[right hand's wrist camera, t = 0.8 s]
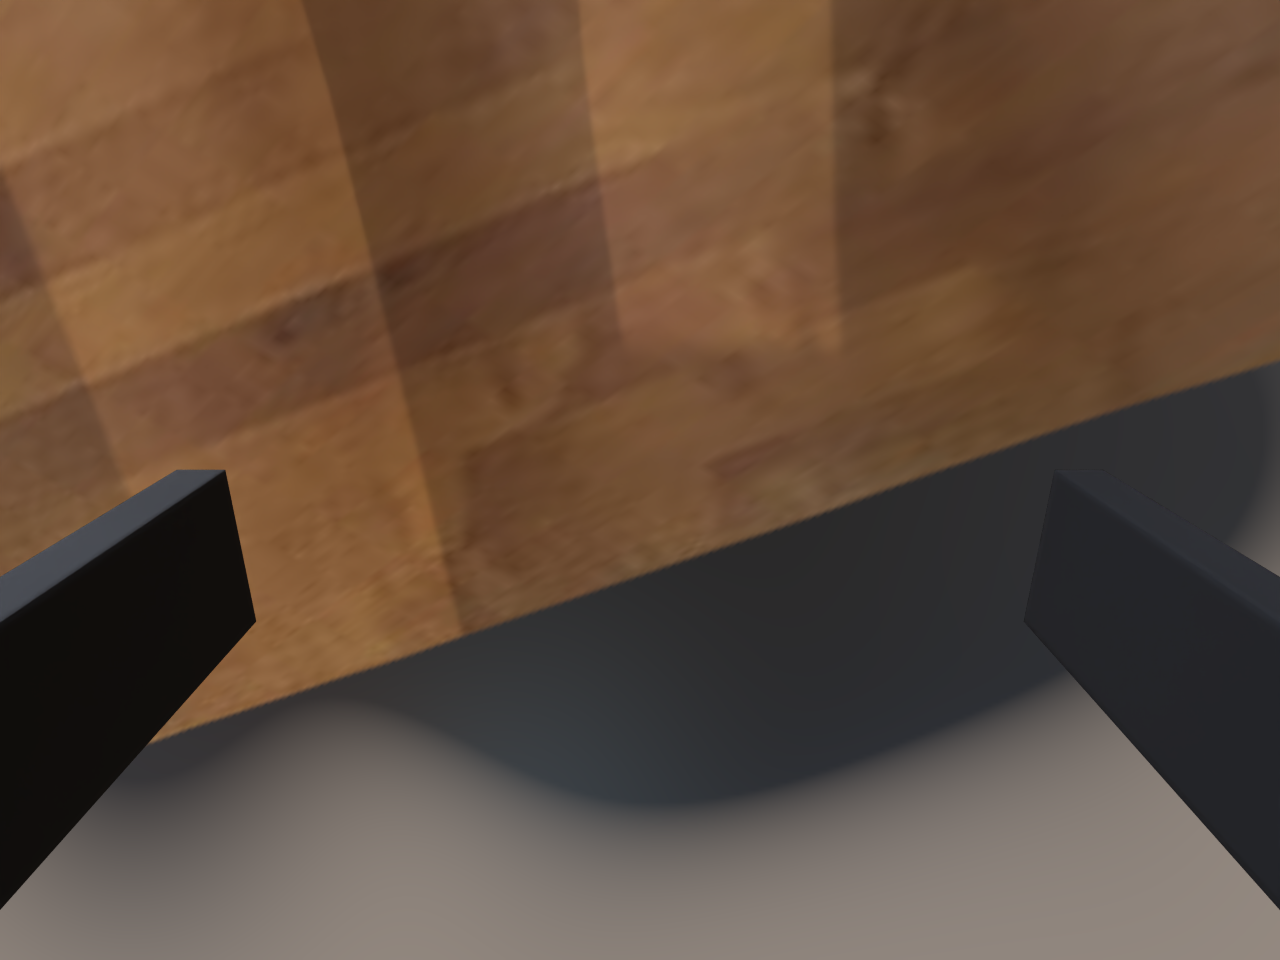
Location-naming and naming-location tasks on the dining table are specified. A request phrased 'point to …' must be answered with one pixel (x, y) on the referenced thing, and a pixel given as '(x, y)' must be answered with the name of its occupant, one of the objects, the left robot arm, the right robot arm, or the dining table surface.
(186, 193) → the dining table surface
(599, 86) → the dining table surface
